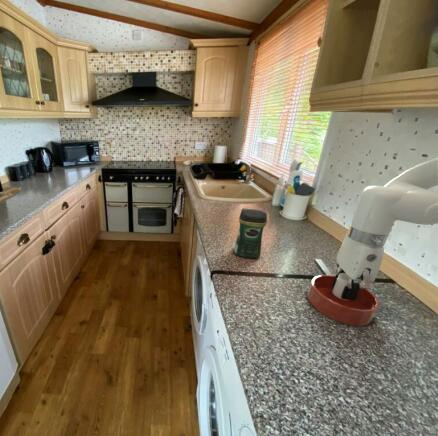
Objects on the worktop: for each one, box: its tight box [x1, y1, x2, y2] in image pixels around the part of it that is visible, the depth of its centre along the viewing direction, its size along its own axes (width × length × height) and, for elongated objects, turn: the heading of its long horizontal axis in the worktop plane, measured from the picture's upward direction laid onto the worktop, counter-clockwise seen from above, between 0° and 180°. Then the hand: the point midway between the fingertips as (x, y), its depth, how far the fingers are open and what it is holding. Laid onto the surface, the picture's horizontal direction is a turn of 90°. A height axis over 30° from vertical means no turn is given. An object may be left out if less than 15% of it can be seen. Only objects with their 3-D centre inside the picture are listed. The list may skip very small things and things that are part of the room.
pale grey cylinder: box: [332, 273, 358, 300], centre depth 68 cm, size 4×4×6 cm
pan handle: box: [313, 258, 334, 276], centre depth 80 cm, size 2×10×1 cm, turn 167°
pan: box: [307, 274, 381, 327], centre depth 69 cm, size 15×15×5 cm
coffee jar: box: [233, 207, 268, 259], centre depth 93 cm, size 10×8×19 cm
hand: (342, 292), depth 68 cm, fingers closed on pale grey cylinder, 4 cm apart
